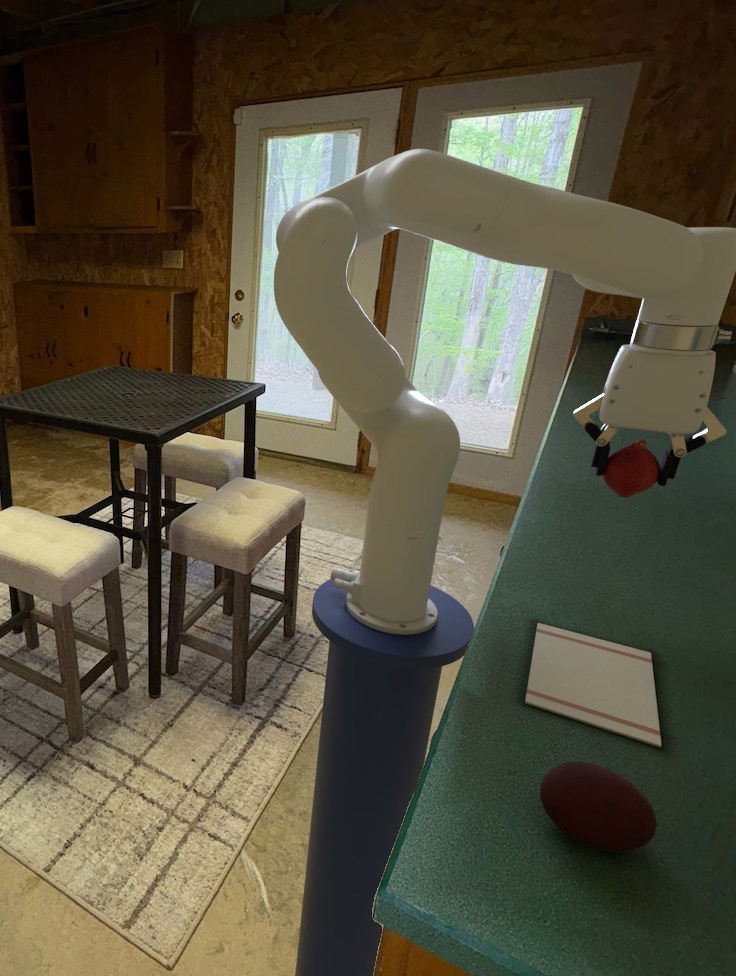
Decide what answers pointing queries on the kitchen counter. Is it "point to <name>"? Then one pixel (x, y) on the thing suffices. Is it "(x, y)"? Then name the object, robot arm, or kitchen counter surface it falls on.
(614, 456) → the pomegranate
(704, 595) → the kitchen counter surface
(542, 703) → the napkin
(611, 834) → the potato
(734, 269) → the robot arm
